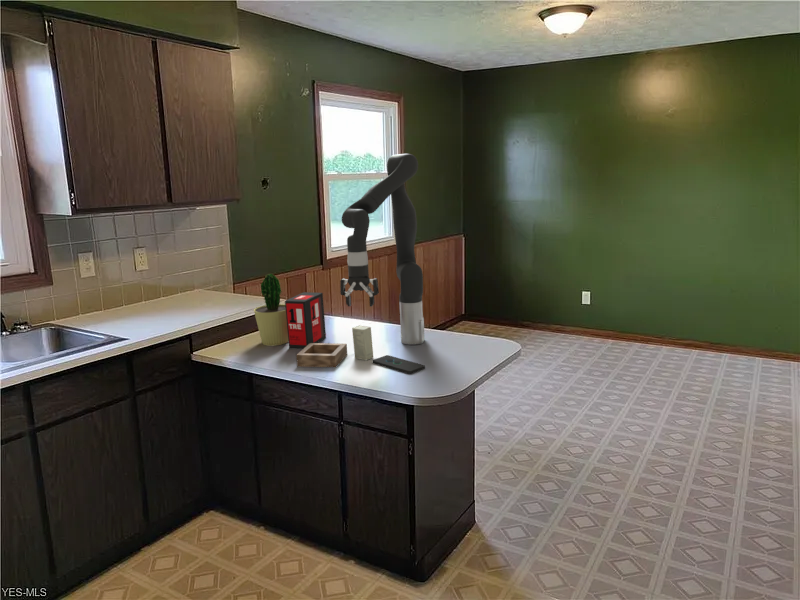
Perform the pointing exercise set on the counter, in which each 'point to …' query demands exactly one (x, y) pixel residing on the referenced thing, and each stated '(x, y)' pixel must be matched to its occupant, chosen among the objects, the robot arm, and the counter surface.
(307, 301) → the cleaning product box
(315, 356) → the block
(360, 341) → the skincare box
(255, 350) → the counter surface
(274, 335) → the potted cactus
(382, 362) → the smart home device
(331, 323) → the counter surface
